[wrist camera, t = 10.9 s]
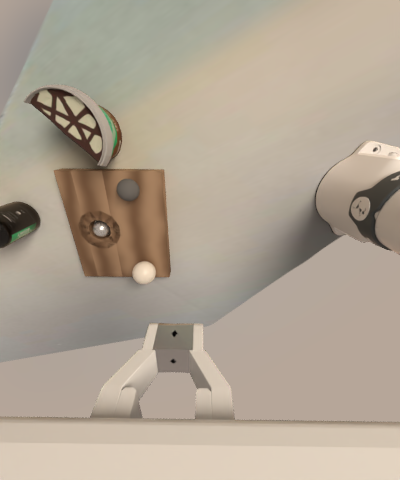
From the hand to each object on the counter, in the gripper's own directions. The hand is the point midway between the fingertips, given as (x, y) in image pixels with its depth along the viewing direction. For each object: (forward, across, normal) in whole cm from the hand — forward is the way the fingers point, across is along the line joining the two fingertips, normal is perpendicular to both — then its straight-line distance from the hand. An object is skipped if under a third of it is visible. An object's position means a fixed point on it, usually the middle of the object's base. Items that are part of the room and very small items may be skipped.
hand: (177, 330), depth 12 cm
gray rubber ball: (+30, +12, -1) cm, 32 cm away
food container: (+34, +16, -12) cm, 40 cm away
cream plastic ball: (+29, +11, +17) cm, 35 cm away
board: (+34, +16, +8) cm, 38 cm away
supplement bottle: (+34, +37, +6) cm, 51 cm away
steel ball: (+32, +20, +8) cm, 39 cm away
